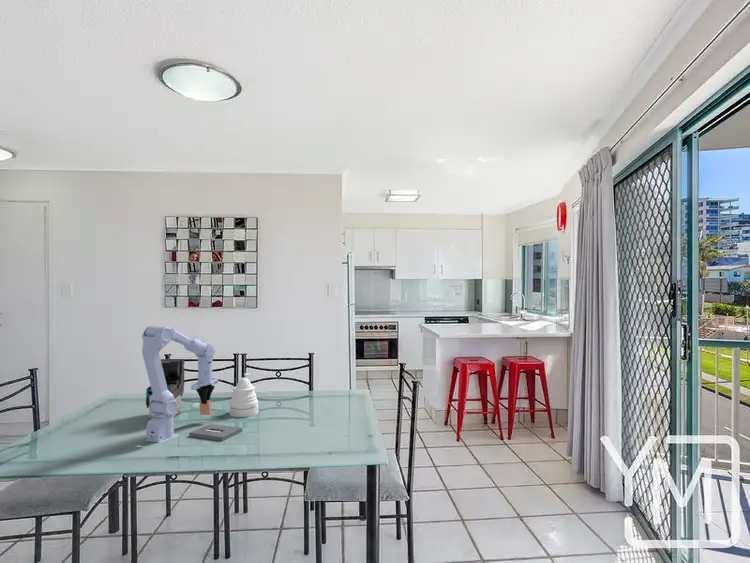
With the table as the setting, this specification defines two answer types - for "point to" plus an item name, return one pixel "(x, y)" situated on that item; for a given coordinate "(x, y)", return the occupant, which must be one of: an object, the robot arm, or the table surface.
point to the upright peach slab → (205, 408)
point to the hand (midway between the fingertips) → (205, 403)
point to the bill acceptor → (171, 381)
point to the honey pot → (244, 399)
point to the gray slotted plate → (215, 432)
